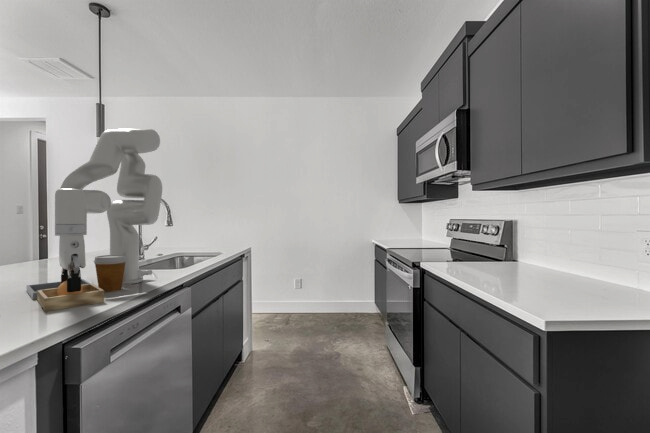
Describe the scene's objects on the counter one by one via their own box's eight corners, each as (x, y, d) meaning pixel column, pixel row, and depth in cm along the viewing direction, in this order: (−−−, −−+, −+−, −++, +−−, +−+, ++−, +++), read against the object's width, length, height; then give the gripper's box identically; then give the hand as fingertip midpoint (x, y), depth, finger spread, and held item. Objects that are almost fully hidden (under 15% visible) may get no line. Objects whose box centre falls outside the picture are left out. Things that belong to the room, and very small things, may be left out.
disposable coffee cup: (133, 289, 114) (133, 255, 114) (107, 296, 105) (107, 258, 105) (112, 287, 117) (112, 254, 117) (86, 293, 108) (86, 257, 108)
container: (82, 285, 119) (82, 279, 119) (93, 292, 109) (93, 285, 109) (26, 293, 108) (26, 285, 108) (32, 301, 97) (32, 293, 97)
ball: (80, 296, 102) (80, 277, 102) (85, 299, 98) (84, 279, 97) (55, 300, 97) (55, 280, 97) (59, 304, 93) (59, 283, 93)
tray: (92, 294, 107) (92, 283, 107) (103, 302, 98) (104, 290, 98) (37, 302, 97) (37, 290, 97) (44, 311, 88) (44, 298, 88)
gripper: (93, 231, 94) (93, 291, 94) (79, 228, 106) (79, 282, 106) (60, 232, 89) (60, 296, 89) (49, 229, 100) (49, 286, 100)
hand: (70, 288), depth 97 cm, fingers open, 8 cm apart
